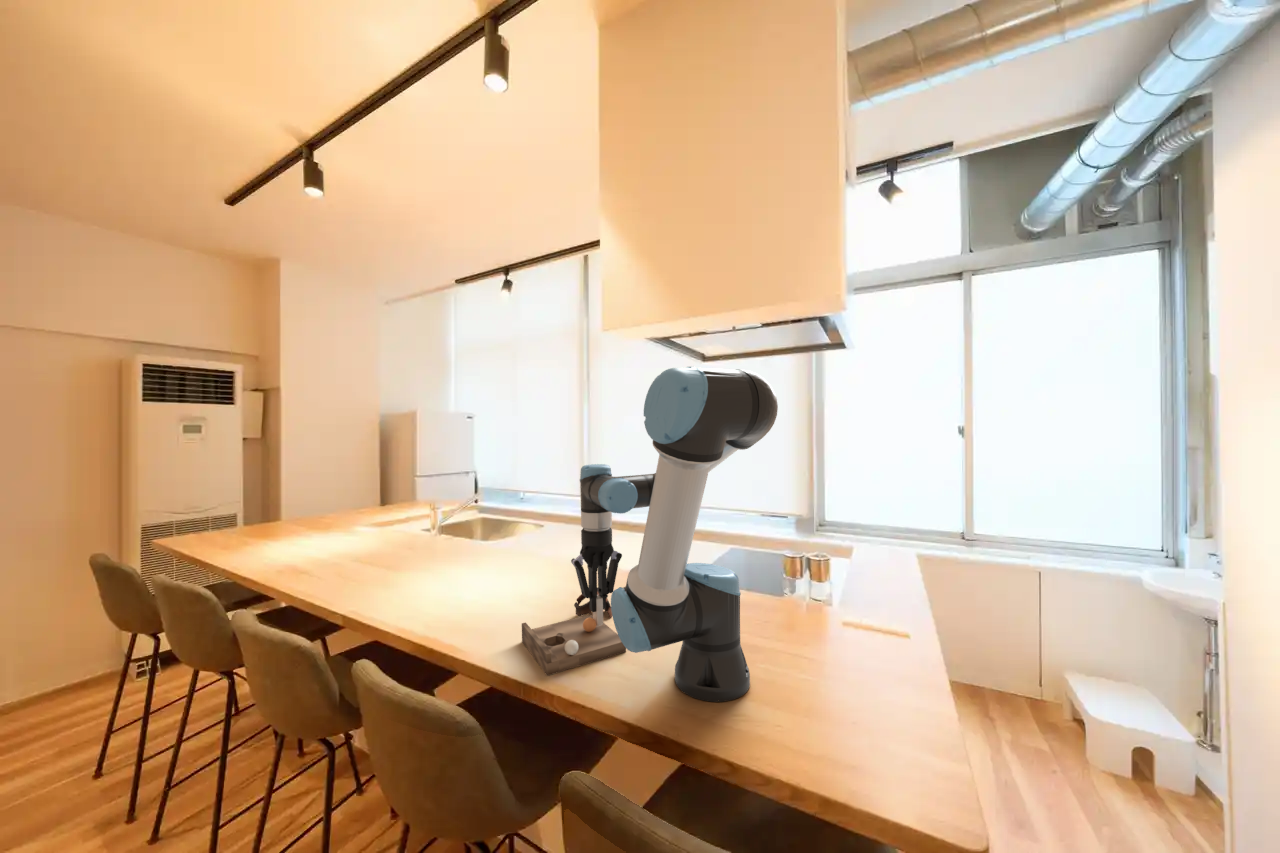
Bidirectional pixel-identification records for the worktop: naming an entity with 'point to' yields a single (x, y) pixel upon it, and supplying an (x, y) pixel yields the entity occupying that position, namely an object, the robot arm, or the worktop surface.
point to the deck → (552, 639)
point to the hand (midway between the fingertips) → (598, 623)
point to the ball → (589, 624)
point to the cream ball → (571, 647)
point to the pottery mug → (586, 607)
